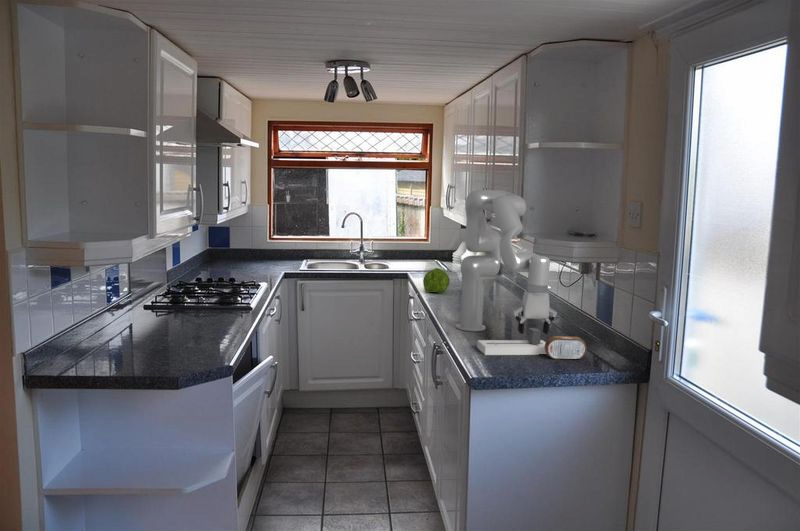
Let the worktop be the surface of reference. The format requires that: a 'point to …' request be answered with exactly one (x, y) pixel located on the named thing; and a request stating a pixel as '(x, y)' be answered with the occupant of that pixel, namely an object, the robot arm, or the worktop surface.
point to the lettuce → (436, 281)
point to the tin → (565, 347)
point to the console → (510, 347)
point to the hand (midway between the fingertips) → (533, 333)
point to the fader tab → (534, 335)
